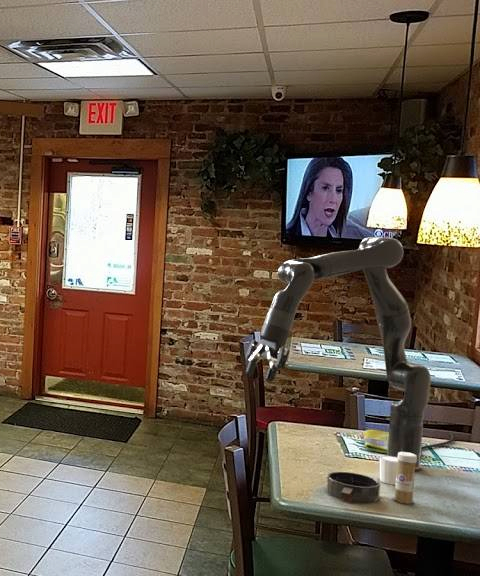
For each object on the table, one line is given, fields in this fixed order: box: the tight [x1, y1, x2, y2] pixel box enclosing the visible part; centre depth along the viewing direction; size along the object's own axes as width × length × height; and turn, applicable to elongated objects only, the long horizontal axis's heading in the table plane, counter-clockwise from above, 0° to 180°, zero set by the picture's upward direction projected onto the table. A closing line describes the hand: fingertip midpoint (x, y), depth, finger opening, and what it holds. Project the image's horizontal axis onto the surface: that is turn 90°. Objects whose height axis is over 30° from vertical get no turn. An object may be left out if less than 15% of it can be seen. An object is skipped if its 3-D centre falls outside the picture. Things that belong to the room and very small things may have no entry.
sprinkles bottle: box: [393, 452, 417, 505], centre depth 212 cm, size 5×5×14 cm
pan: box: [325, 471, 381, 504], centre depth 216 cm, size 13×13×4 cm
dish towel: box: [363, 429, 389, 454], centre depth 267 cm, size 18×24×3 cm
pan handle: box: [340, 487, 354, 504], centre depth 208 cm, size 6×2×4 cm, turn 144°
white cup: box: [378, 455, 398, 486], centre depth 229 cm, size 7×7×7 cm
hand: (258, 377), depth 226 cm, fingers open, 8 cm apart
